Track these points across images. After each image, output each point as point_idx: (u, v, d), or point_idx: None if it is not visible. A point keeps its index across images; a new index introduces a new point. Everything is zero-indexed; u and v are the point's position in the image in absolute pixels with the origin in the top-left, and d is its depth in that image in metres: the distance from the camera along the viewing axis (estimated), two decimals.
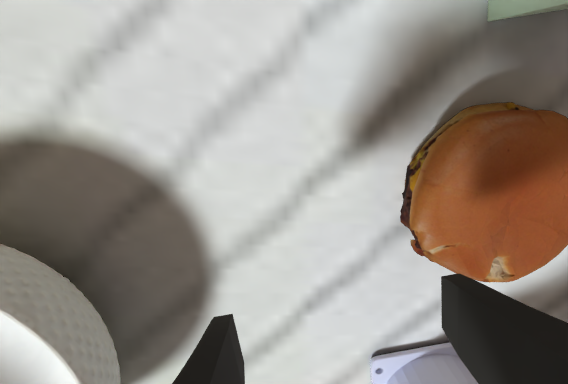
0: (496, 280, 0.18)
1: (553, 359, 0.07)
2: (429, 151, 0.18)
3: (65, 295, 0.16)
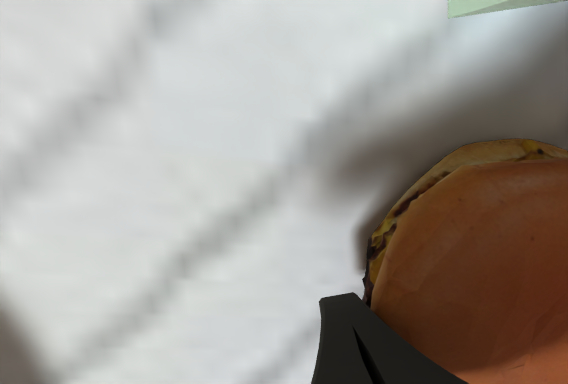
0: None
1: None
2: (398, 226, 0.11)
3: None
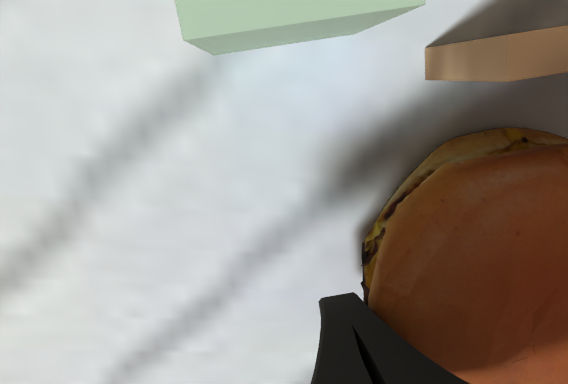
0: None
1: None
2: (386, 230, 0.11)
3: None
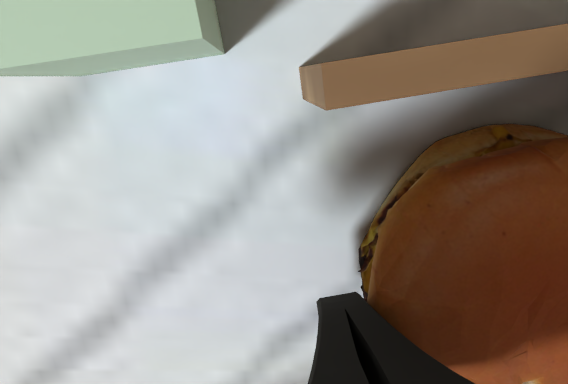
0: None
1: None
2: (379, 236, 0.11)
3: None
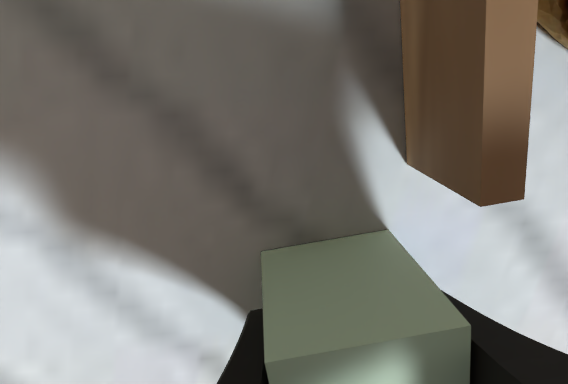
0: None
1: (497, 370, 0.07)
2: None
3: None
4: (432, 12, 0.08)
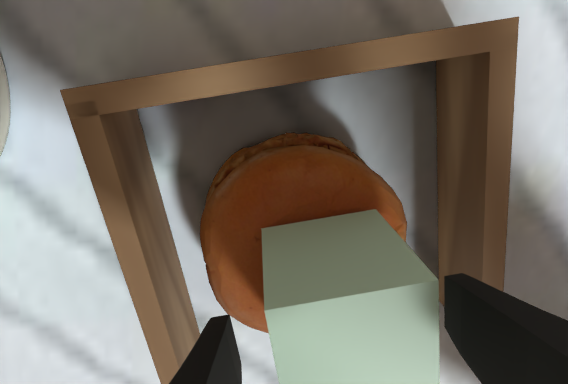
0: None
1: (557, 358, 0.07)
2: None
3: None
4: None
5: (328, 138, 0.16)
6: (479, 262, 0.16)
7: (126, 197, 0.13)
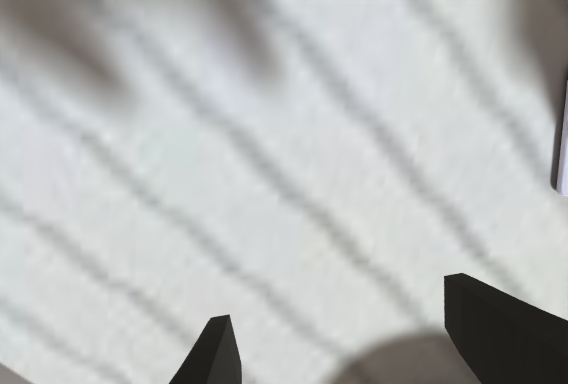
0: None
1: (558, 358, 0.07)
2: None
3: None
4: None
5: None
6: None
7: None
